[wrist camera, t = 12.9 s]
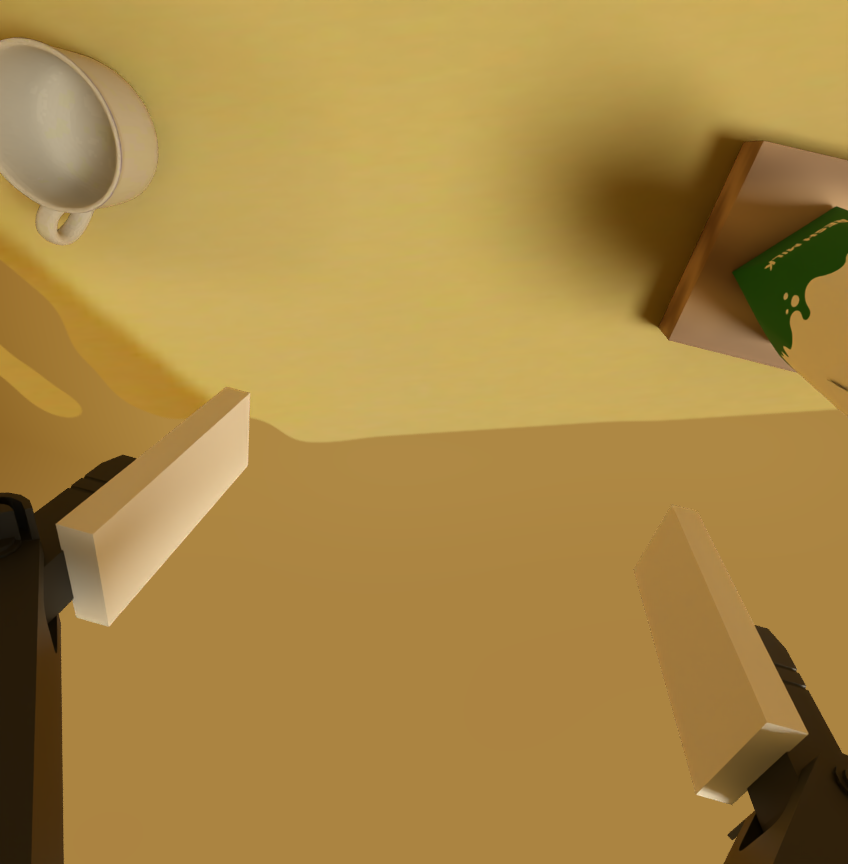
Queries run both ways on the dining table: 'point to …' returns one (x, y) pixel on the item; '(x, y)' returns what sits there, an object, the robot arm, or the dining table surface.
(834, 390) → the soya milk
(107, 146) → the teacup
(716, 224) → the plinth
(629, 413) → the dining table surface
